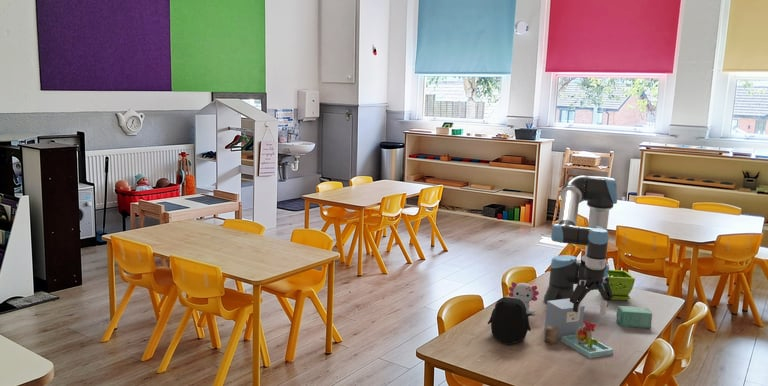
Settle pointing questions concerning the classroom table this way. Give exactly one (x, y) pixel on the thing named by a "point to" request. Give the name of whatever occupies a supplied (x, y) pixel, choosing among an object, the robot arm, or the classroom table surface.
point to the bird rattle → (586, 334)
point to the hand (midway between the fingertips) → (589, 317)
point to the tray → (582, 348)
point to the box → (634, 316)
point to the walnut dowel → (551, 335)
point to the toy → (524, 294)
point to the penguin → (509, 320)
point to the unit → (563, 317)
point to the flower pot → (624, 287)
